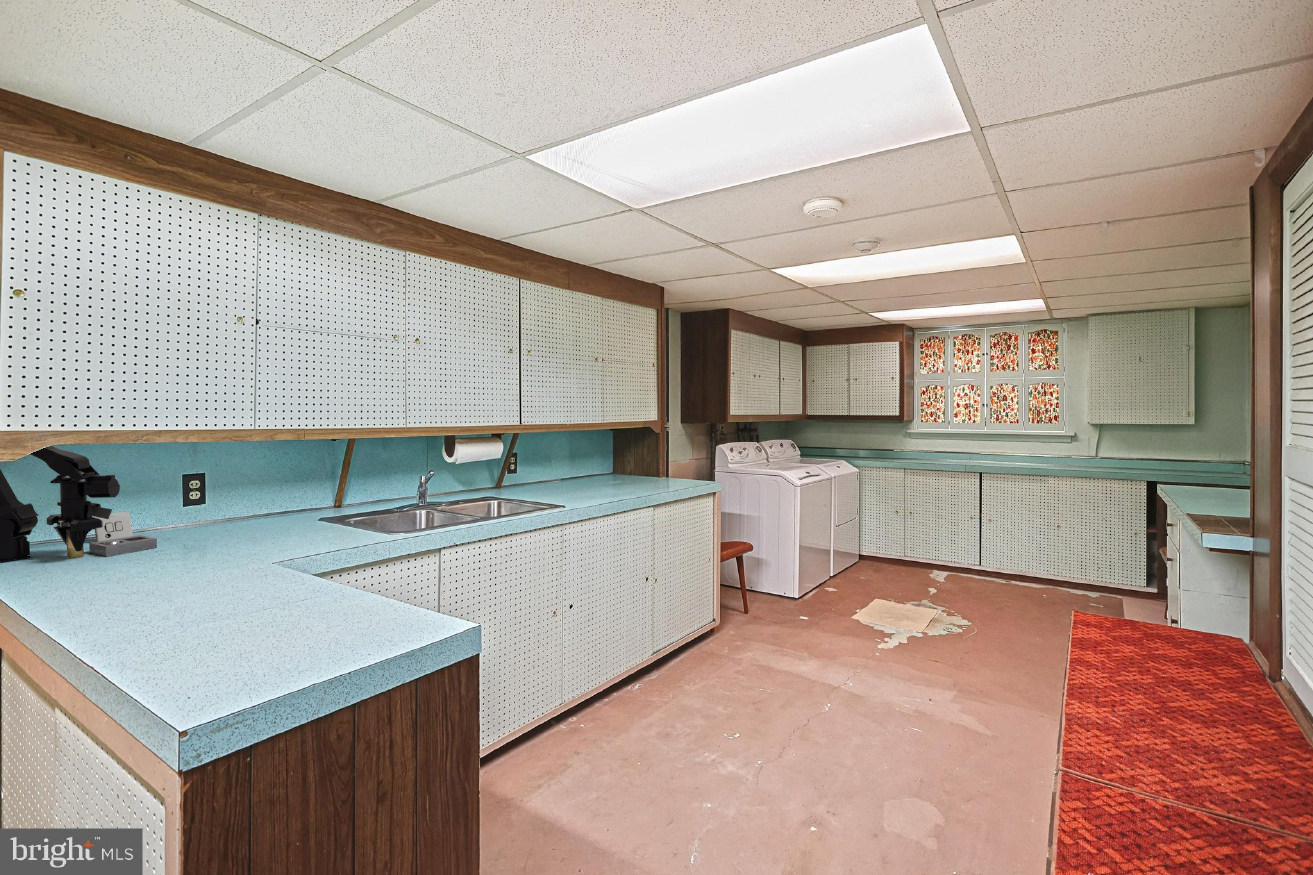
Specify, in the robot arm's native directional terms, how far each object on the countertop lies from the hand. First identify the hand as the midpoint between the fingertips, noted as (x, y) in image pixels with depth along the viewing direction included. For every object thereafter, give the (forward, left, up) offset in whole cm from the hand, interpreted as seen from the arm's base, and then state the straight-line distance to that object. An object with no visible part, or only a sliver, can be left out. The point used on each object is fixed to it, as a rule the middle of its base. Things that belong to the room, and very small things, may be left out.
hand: (75, 550), depth 183 cm
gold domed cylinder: (0, 0, -2) cm, 2 cm away
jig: (+11, -2, -2) cm, 11 cm away
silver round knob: (+8, -2, -2) cm, 9 cm away
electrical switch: (+16, +17, -2) cm, 23 cm away
